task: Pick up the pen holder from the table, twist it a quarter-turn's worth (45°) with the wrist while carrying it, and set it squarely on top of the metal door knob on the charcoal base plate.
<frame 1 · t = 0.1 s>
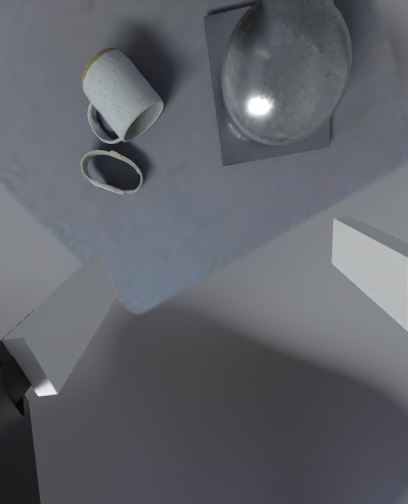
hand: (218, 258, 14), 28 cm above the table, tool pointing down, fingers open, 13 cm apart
beige oval ring: (118, 171, 39), on the table
ceramic mug: (126, 111, 35), on the table
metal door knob: (270, 89, 34), on the table
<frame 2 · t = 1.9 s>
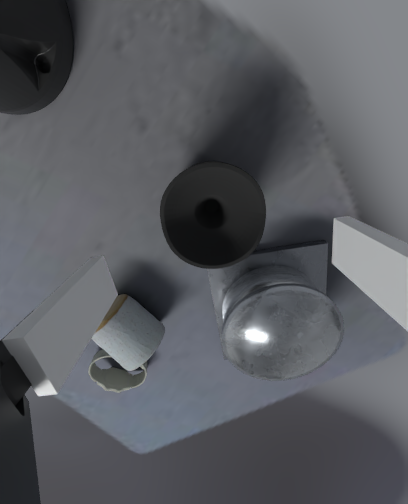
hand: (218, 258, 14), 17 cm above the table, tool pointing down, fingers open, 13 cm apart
beige oval ring: (123, 356, 41), on the table
ceramic mug: (129, 317, 37), on the table
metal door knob: (268, 303, 36), on the table
pen holder: (210, 198, 30), on the table
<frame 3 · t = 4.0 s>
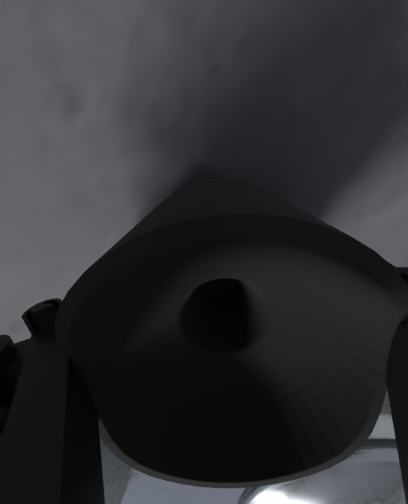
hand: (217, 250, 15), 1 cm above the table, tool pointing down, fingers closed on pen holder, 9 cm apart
ceramic mug: (80, 426, 23), on the table
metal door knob: (310, 409, 21), on the table
pen holder: (216, 245, 15), on the table, touching gripper
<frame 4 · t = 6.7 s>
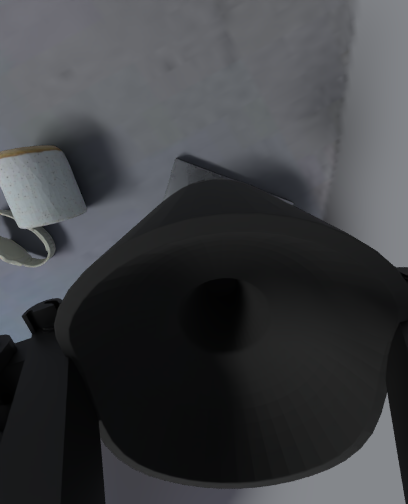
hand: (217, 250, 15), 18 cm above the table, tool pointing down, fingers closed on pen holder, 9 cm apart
beige oval ring: (30, 233, 34), on the table
ceramic mug: (52, 186, 32), on the table
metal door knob: (211, 241, 34), on the table
pen holder: (216, 245, 15), point 18 cm above the table, touching gripper
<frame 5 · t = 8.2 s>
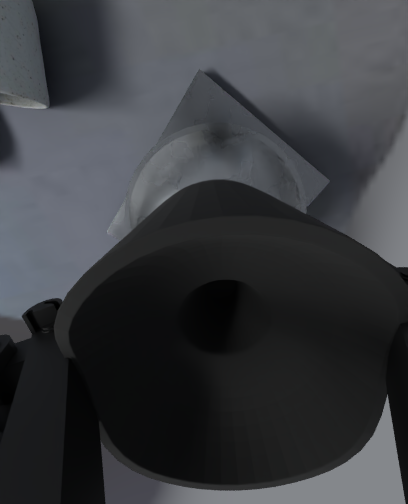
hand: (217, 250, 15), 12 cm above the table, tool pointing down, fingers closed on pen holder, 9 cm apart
ceramic mug: (5, 59, 21), on the table
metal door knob: (212, 205, 26), on the table
pen holder: (216, 246, 15), point 12 cm above the table, touching gripper
when the fingers open (8 cm above the table, at t = 9.4 s): pen holder stays where it is, resting on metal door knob.
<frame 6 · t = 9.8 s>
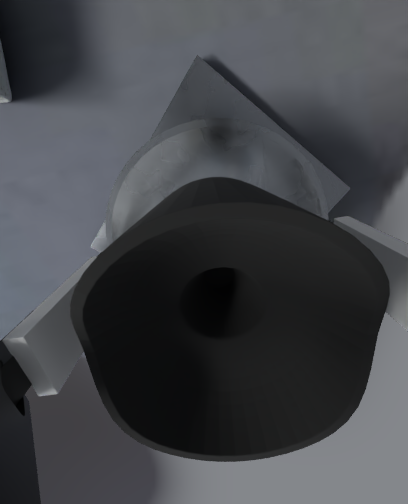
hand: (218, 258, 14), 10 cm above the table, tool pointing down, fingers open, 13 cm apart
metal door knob: (213, 215, 23), on the table
pen holder: (215, 241, 16), point 7 cm above the table, touching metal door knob
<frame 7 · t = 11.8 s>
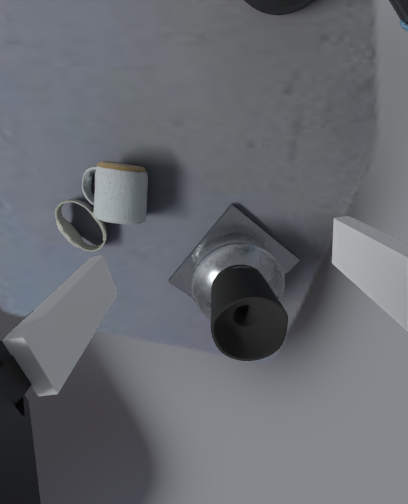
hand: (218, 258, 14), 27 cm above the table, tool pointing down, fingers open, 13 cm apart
beige oval ring: (88, 221, 41), on the table
ceramic mug: (120, 189, 39), on the table
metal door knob: (232, 268, 44), on the table
pen holder: (237, 287, 38), point 7 cm above the table, touching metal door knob
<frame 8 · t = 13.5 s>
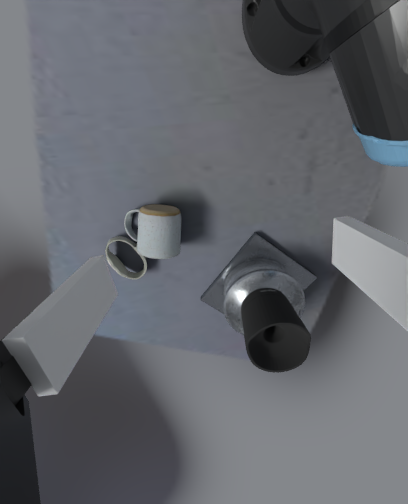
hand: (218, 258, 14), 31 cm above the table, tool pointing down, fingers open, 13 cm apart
beige oval ring: (130, 253, 48), on the table
ceramic mug: (156, 224, 45), on the table
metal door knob: (256, 286, 50), on the table
pen holder: (263, 306, 43), point 7 cm above the table, touching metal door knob
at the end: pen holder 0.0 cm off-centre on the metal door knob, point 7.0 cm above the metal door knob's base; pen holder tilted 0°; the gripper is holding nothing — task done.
